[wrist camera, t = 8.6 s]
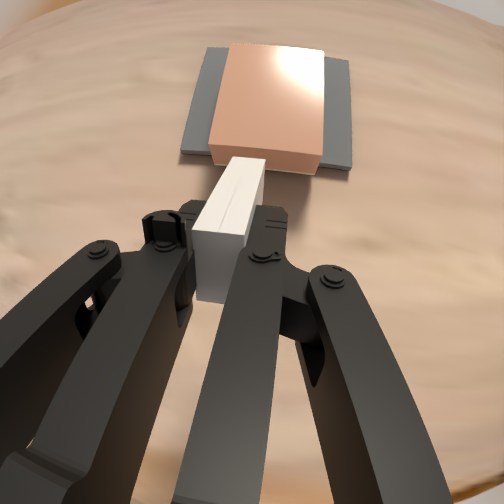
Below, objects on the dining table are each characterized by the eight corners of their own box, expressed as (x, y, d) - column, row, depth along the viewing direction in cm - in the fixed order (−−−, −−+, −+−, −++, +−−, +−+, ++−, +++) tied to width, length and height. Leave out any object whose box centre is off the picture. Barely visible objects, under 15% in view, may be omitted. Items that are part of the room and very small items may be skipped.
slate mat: (349, 170, 29) (352, 167, 28) (182, 153, 30) (180, 149, 29) (346, 65, 31) (348, 60, 30) (208, 52, 32) (207, 47, 31)
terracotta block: (322, 155, 24) (323, 51, 26) (207, 144, 24) (230, 42, 26) (314, 175, 28) (318, 76, 30) (214, 165, 28) (233, 68, 30)
